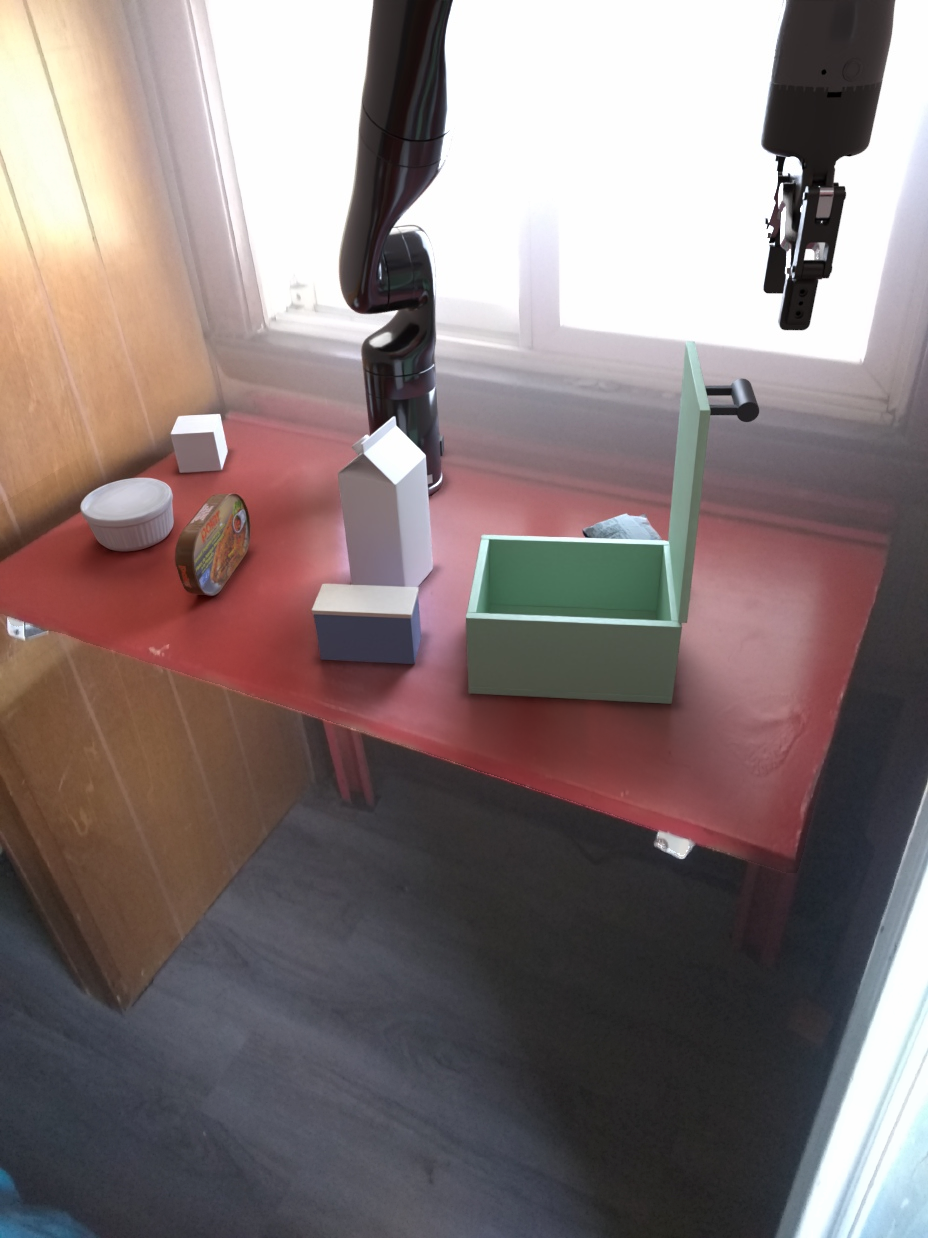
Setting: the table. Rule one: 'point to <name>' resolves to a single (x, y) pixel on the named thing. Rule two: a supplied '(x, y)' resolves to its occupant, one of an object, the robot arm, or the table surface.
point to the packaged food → (623, 529)
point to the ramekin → (129, 513)
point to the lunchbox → (573, 619)
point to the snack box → (367, 623)
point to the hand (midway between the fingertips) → (783, 309)
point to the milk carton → (387, 510)
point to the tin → (213, 544)
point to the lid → (696, 464)
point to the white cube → (199, 443)
